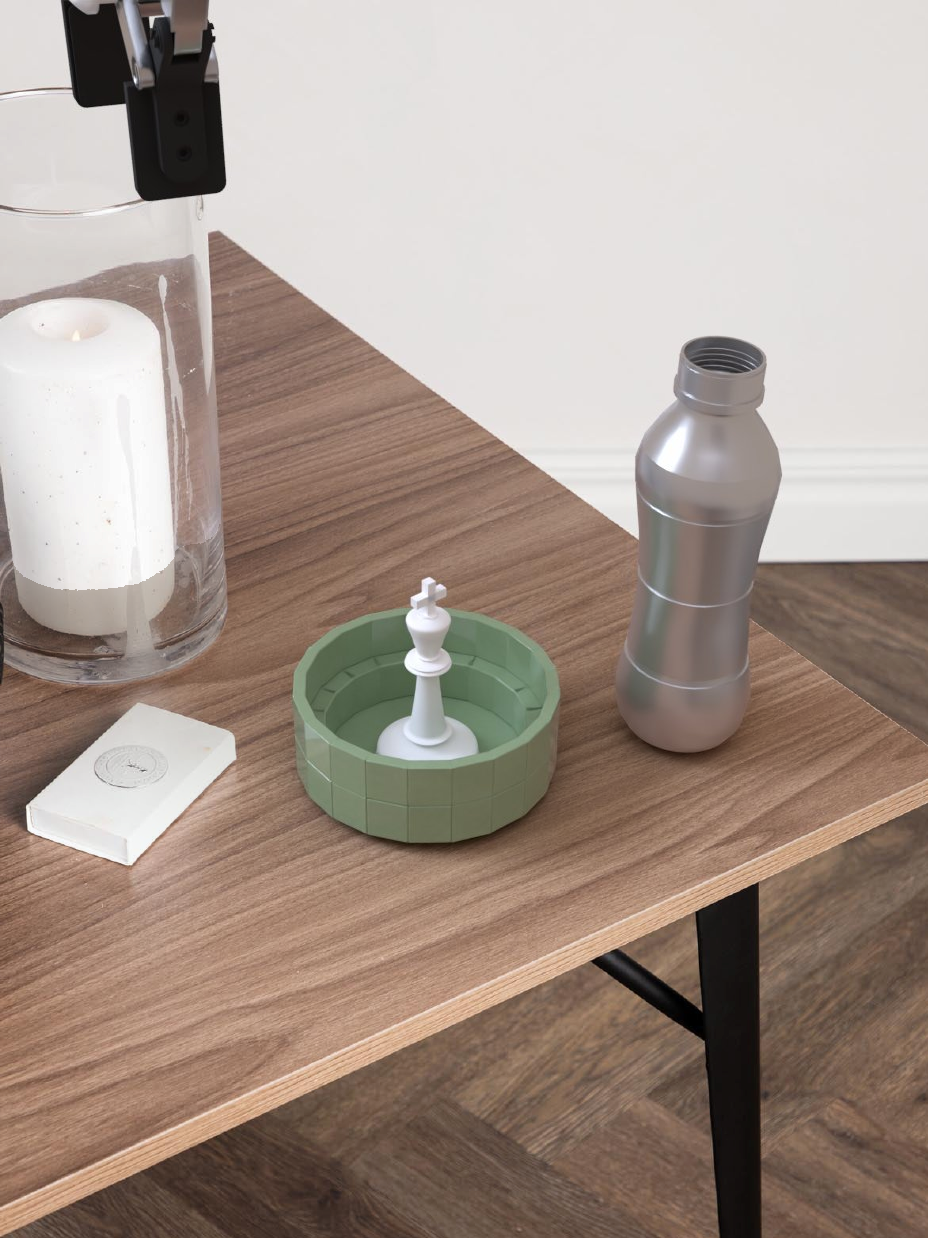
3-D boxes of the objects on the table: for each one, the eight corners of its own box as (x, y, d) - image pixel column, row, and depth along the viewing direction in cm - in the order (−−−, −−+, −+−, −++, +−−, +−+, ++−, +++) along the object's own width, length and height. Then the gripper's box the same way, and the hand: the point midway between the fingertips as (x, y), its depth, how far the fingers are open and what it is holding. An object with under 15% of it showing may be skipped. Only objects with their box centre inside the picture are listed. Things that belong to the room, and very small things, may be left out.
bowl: (260, 823, 78) (253, 738, 75) (345, 670, 87) (343, 588, 84) (518, 876, 76) (523, 791, 73) (578, 714, 85) (585, 632, 82)
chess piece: (354, 751, 81) (349, 575, 75) (434, 711, 84) (435, 537, 77) (420, 804, 79) (421, 626, 72) (500, 761, 81) (508, 585, 75)
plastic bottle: (689, 788, 81) (742, 409, 68) (582, 725, 85) (613, 351, 71) (770, 729, 85) (834, 358, 72) (664, 670, 88) (707, 306, 75)
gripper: (-79, -438, 58) (1, 80, 69) (26, -360, 46) (102, 249, 57) (140, -437, 60) (183, 63, 72) (292, -363, 49) (315, 222, 60)
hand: (147, 145), depth 65 cm, fingers open, 9 cm apart
